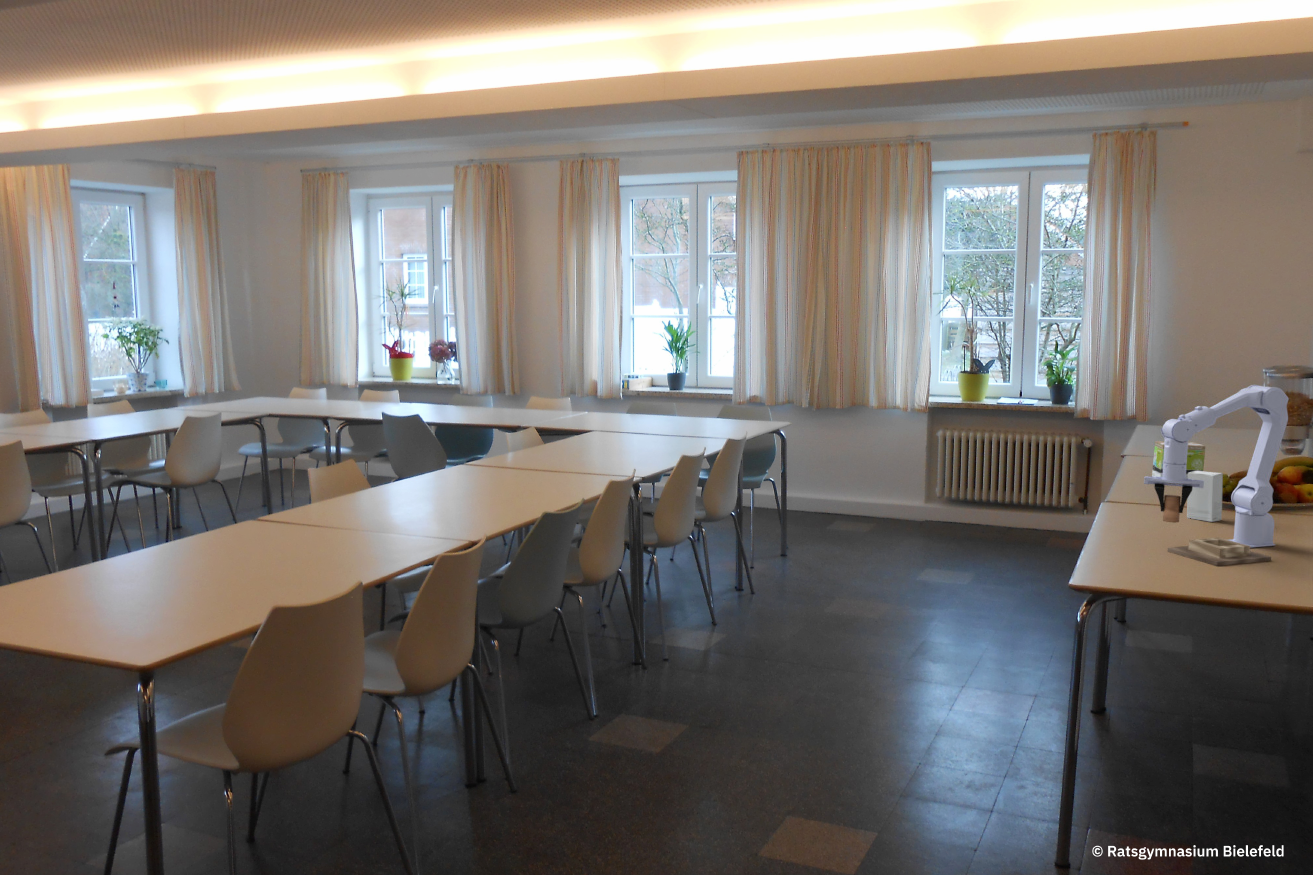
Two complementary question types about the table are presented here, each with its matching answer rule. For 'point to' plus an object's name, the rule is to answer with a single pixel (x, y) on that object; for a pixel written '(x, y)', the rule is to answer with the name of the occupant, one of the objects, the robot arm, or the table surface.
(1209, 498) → the skincare box
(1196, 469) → the tea box
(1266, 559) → the socket
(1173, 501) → the peg
